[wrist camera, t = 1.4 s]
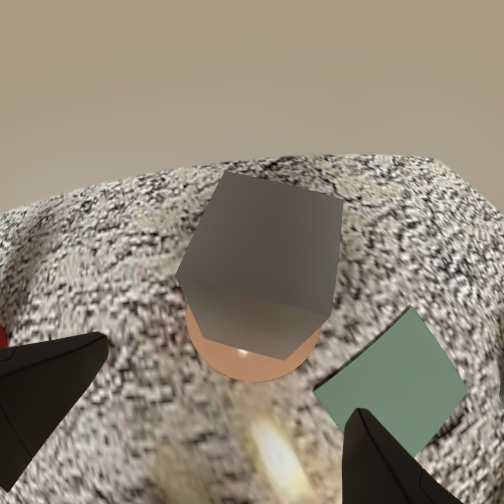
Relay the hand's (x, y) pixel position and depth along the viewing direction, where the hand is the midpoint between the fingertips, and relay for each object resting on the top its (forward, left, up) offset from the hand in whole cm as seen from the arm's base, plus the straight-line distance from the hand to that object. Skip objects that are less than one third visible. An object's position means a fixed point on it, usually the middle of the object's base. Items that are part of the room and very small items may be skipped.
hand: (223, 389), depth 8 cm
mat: (+12, -9, -13) cm, 20 cm away
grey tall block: (+5, +5, -12) cm, 14 cm away
